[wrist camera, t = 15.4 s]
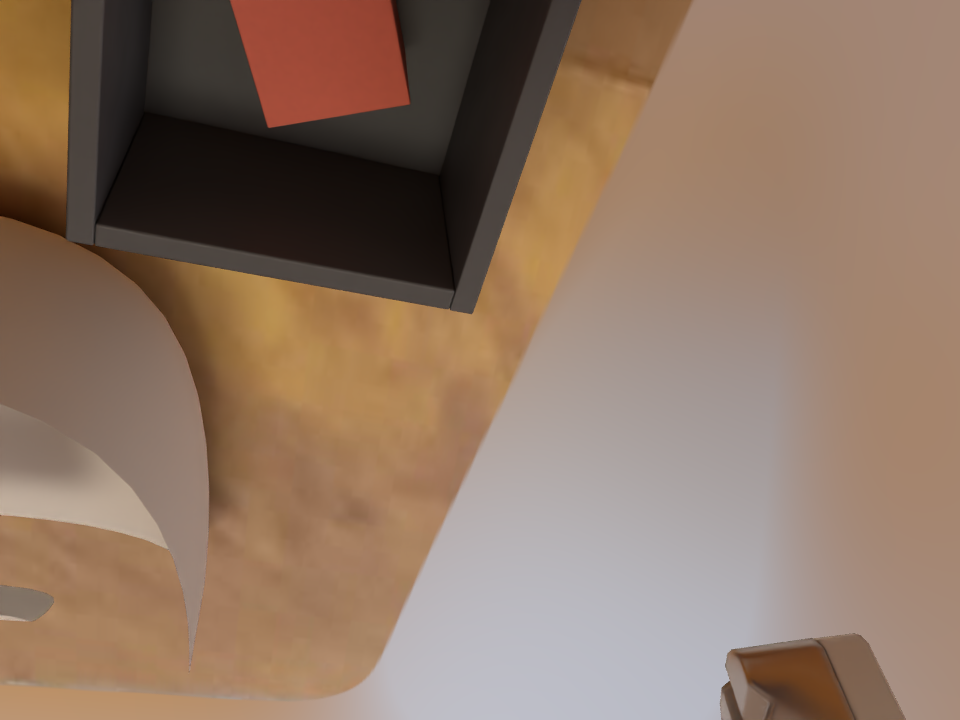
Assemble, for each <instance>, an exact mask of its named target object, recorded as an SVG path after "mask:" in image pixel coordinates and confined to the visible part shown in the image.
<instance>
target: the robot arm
mask: <svg viewBox="0 0 960 720" xmlns="http://www.w3.org/2000/svg"><path fill="white" fill-rule="evenodd" d="M725 667H726V670H727V673H728V676H729V679H730V681H729V682H728V683H726V684H725V685H724V686H723V687H722V690H721V699H720V710H721V719H722V720H906V719H905V717H904V715H903V713H902V710H901V709H900V706H899V704H898V702H897V700H896V698H895V696H894V694H893V692H892V690H891V688H890V686H889V684H888V682H887V680H886V678H885V676H884V674H883V672H882V670H881V668H880V666H879V664H878V662H877V660H876V657H875V656H874V653H873V651H872V650H871V647H870V645H869V643H867V641H866V640H865V639H864V638H863V637H862V636H860V635H858V634H855V633H853V634H845V635H837V636H829V637H822V638H814V639H813V638H810V639H802V640H795V641H788V642H781V643H774V644H767V645H760V646H753V647H746V648H739V649H732V650H731V651H730V652H729V653H728V654H727V660H726V664H725Z"/></svg>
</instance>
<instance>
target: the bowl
mask: <svg viewBox="0 0 960 720" xmlns="http://www.w3.org/2000/svg"><path fill="white" fill-rule="evenodd" d="M0 515H9V516H18V517H28V518H38V519H48V520H54V521H61V522H68V523H75V524H82V525H87V526H92V527H97V528H102V529H107V530H112V531H117V532H120V533H124V534H127V535H131V536H134V537H138V538H141V539H145V540H147V541H149V542H152V543H154V544H156V545H159V546H161V547H163V548H165V549H167V550H169V551H170V553H171V555H172V557H173V559H174V563H175V566H176V569H177V573H178V576H179V580H180V583H181V587H182V590H183V594H184V601H185V607H186V613H187V619H188V631H189V671H190V665H191V660H192V654H193V648H194V642H195V636H196V631H197V625H198V619H199V613H200V607H201V602H202V596H203V590H204V584H205V573H206V562H207V548H208V533H209V477H208V462H207V447H206V438H205V432H204V426H203V420H202V414H201V408H200V402H199V398H198V393H197V390H196V387H195V384H194V381H193V377H192V374H191V371H190V368H189V365H188V362H187V358H186V356H185V354H184V352H183V350H182V348H181V346H180V344H179V342H178V340H177V338H176V337H175V335H174V333H173V331H172V329H171V327H170V325H169V323H168V322H167V320H166V318H165V316H164V315H163V314H162V313H161V312H160V310H159V309H158V308H157V307H156V306H155V305H154V303H153V302H152V301H151V300H150V299H149V298H148V296H147V295H146V294H145V293H144V292H143V291H142V289H141V288H140V287H139V286H138V285H137V284H136V283H135V282H133V281H132V280H131V279H129V278H128V277H127V276H125V275H124V274H123V273H121V272H120V271H119V270H117V269H116V268H115V267H113V266H112V265H111V264H109V263H108V262H107V261H105V260H104V259H103V258H101V257H100V256H98V255H96V254H94V253H92V252H90V251H89V250H87V249H85V248H83V247H81V246H79V245H77V244H75V243H73V242H71V241H67V240H66V239H65V238H63V237H61V236H60V235H57V234H54V233H51V232H48V231H46V230H43V229H40V228H37V227H34V226H31V225H28V224H26V223H23V222H20V221H17V220H14V219H11V218H6V217H2V216H0ZM53 603H54V599H53V597H52V596H50V595H48V594H47V593H44V592H40V591H36V590H32V589H27V588H19V587H12V586H4V585H0V620H14V621H34V620H36V619H38V618H40V617H41V616H42V615H44V614H45V613H46V612H47V611H48V610H49V609H50V607H51V606H52V604H53Z"/></svg>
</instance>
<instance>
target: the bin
mask: <svg viewBox="0 0 960 720" xmlns="http://www.w3.org/2000/svg"><path fill="white" fill-rule="evenodd" d="M580 3H581V0H396V4H397V9H398V15H399V20H400V26H401V31H402V36H403V42H404V47H405V54H406V64H407V74H408V84H409V94H410V104H409V105H403V106H397V107H391V108H385V109H379V110H373V111H367V112H361V113H355V114H349V115H343V116H337V117H331V118H325V119H319V120H313V121H307V122H301V123H295V124H289V125H283V126H277V127H271V128H268V126H267V123H266V120H265V116H264V113H263V110H262V106H261V103H260V100H259V96H258V93H257V90H256V86H255V83H254V80H253V76H252V73H251V69H250V66H249V63H248V59H247V56H246V53H245V49H244V46H243V43H242V39H241V36H240V33H239V29H238V26H237V22H236V19H235V16H234V12H233V9H232V6H231V2H230V0H71V36H70V79H69V121H68V164H67V207H66V240H67V241H71V242H76V243H82V244H87V245H93V244H94V243H95V245H96V246H99V247H104V248H110V249H115V250H121V251H127V252H132V253H138V254H143V255H149V256H154V257H160V258H165V259H171V260H177V261H182V262H188V263H193V264H199V265H204V266H210V267H215V268H221V269H226V270H232V271H238V272H243V273H249V274H254V275H260V276H265V277H271V278H276V279H282V280H288V281H293V282H299V283H304V284H310V285H315V286H321V287H326V288H332V289H337V290H343V291H349V292H354V293H360V294H365V295H371V296H376V297H382V298H387V299H393V300H399V301H404V302H410V303H415V304H421V305H426V306H432V307H437V308H443V309H449V308H450V310H452V311H457V312H463V313H469V314H472V313H473V311H474V308H475V305H476V303H477V300H478V297H479V294H480V291H481V288H482V285H483V282H484V279H485V277H486V274H487V271H488V268H489V265H490V262H491V259H492V256H493V254H494V251H495V248H496V245H497V242H498V239H499V236H500V233H501V231H502V228H503V225H504V222H505V219H506V216H507V213H508V210H509V208H510V205H511V202H512V199H513V196H514V193H515V190H516V187H517V185H518V182H519V179H520V176H521V173H522V170H523V167H524V164H525V162H526V159H527V156H528V153H529V150H530V147H531V144H532V141H533V139H534V136H535V133H536V130H537V127H538V124H539V121H540V118H541V116H542V113H543V110H544V107H545V104H546V101H547V98H548V95H549V93H550V90H551V87H552V84H553V81H554V78H555V75H556V72H557V70H558V67H559V64H560V61H561V58H562V55H563V52H564V49H565V46H566V44H567V41H568V38H569V35H570V32H571V29H572V26H573V23H574V21H575V18H576V15H577V12H578V9H579V6H580Z"/></svg>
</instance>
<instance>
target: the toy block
mask: <svg viewBox="0 0 960 720" xmlns="http://www.w3.org/2000/svg"><path fill="white" fill-rule="evenodd" d="M230 2H231V6H232V9H233V12H234V16H235V19H236V22H237V26H238V29H239V33H240V36H241V39H242V43H243V46H244V49H245V53H246V56H247V59H248V63H249V66H250V69H251V73H252V76H253V80H254V83H255V86H256V90H257V93H258V96H259V100H260V103H261V106H262V110H263V113H264V116H265V120H266V123H267V126H268V128H271V127H277V126H283V125H289V124H295V123H301V122H307V121H313V120H319V119H325V118H331V117H337V116H343V115H349V114H355V113H361V112H367V111H373V110H379V109H385V108H391V107H397V106H403V105H409V104H410V94H409V84H408V74H407V64H406V54H405V47H404V42H403V36H402V31H401V26H400V20H399V15H398V9H397V4H396V0H230Z"/></svg>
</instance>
